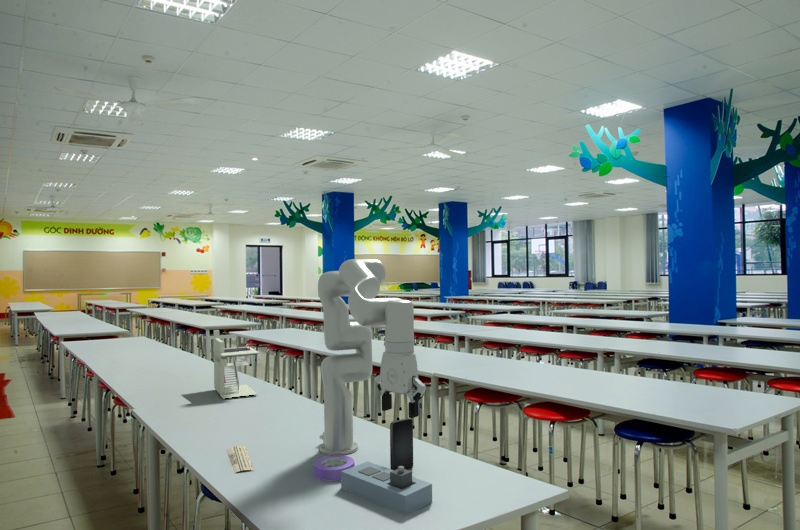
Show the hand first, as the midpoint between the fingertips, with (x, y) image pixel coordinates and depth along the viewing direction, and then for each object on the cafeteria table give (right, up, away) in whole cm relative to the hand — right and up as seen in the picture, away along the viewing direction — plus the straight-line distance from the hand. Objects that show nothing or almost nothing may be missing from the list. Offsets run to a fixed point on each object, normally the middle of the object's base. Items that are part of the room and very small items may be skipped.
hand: (399, 413), depth 138 cm
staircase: (-82, -25, +129) cm, 155 cm away
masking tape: (-19, -23, +18) cm, 35 cm away
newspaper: (-51, -24, +30) cm, 64 cm away
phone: (+1, -23, +20) cm, 30 cm away
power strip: (-5, -23, +4) cm, 23 cm away
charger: (0, -23, -2) cm, 23 cm away
